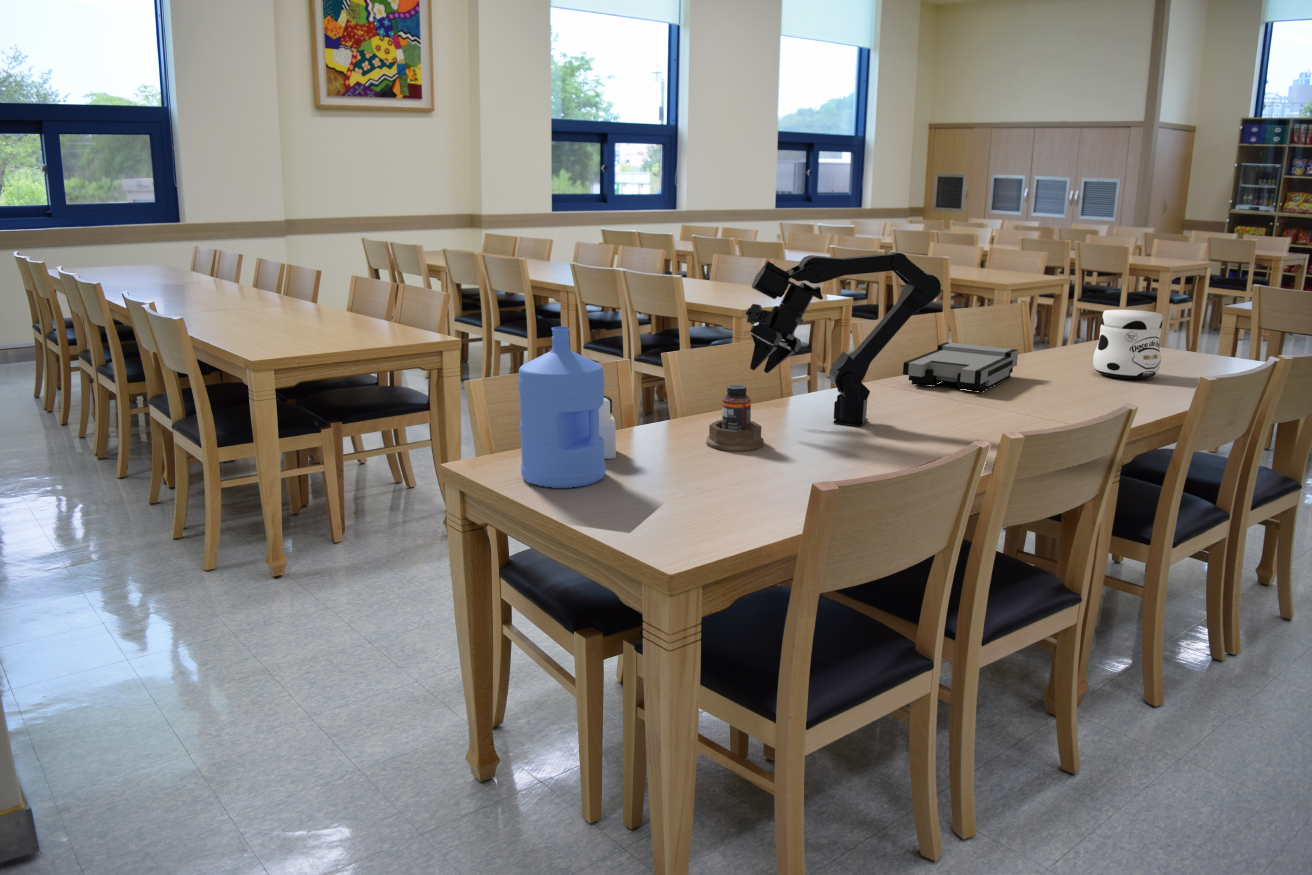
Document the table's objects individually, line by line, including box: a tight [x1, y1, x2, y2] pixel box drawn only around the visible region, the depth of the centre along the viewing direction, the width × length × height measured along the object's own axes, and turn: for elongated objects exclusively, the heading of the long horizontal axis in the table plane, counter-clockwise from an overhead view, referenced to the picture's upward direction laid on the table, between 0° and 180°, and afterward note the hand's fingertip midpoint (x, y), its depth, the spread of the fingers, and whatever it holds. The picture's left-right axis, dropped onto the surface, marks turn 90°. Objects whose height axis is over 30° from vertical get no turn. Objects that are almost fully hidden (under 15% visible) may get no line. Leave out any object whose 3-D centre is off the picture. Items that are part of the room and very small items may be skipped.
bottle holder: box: [706, 419, 765, 453], centre depth 204 cm, size 12×12×4 cm
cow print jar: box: [1092, 309, 1163, 380], centre depth 274 cm, size 17×17×18 cm
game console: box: [902, 341, 1019, 393], centre depth 267 cm, size 21×32×8 cm, turn 144°
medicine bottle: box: [599, 395, 617, 460], centre depth 194 cm, size 7×7×12 cm
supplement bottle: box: [721, 384, 752, 431], centre depth 203 cm, size 6×6×11 cm
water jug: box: [517, 326, 606, 489], centre depth 178 cm, size 16×16×28 cm
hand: (758, 370), depth 218 cm, fingers open, 9 cm apart
